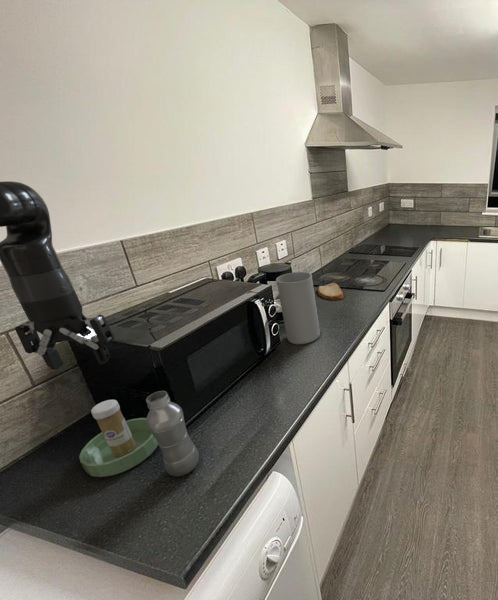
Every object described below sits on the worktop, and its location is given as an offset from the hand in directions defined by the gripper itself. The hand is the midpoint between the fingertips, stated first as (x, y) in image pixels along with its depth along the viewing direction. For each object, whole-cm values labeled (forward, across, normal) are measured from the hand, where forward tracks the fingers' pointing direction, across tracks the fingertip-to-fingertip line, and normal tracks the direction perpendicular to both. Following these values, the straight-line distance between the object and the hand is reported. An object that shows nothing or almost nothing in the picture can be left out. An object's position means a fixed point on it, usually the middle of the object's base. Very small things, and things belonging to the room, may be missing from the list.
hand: (81, 364), depth 67 cm
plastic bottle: (+25, -17, +8) cm, 31 cm away
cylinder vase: (+25, -38, -48) cm, 66 cm away
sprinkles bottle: (+25, -1, 0) cm, 25 cm away
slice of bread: (+25, -49, -94) cm, 109 cm away
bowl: (+25, -1, 0) cm, 25 cm away
